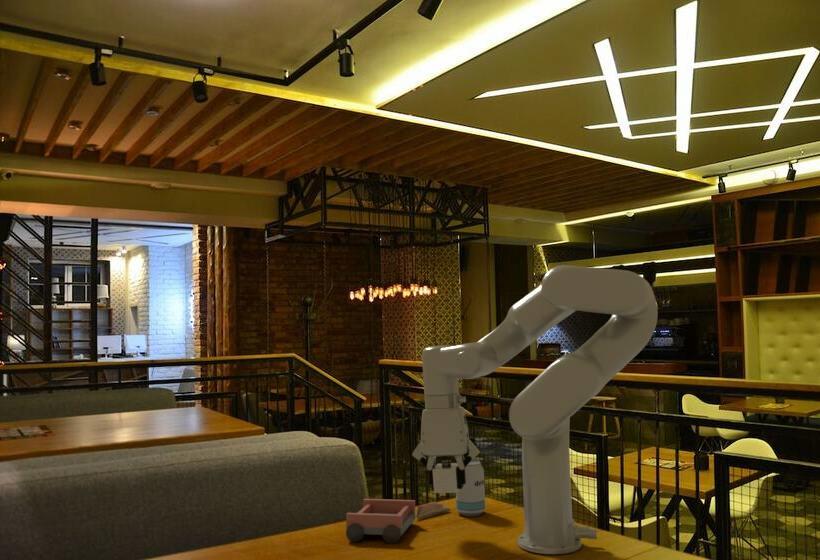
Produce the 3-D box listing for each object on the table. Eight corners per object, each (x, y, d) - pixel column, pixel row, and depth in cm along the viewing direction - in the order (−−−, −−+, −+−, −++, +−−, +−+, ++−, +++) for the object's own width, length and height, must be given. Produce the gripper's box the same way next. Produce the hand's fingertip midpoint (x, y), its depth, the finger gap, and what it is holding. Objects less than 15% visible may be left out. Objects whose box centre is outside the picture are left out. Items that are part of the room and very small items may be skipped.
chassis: (416, 523, 151) (415, 499, 152) (400, 544, 137) (399, 517, 137) (366, 521, 154) (365, 497, 155) (345, 541, 140) (344, 515, 140)
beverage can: (477, 519, 154) (475, 466, 155) (451, 515, 157) (449, 464, 158) (490, 511, 160) (488, 461, 161) (464, 508, 163) (462, 458, 164)
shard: (416, 523, 154) (416, 515, 154) (396, 516, 160) (396, 508, 160) (451, 514, 161) (451, 506, 161) (431, 507, 167) (431, 500, 167)
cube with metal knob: (461, 486, 146) (459, 458, 146) (457, 492, 140) (455, 463, 140) (439, 486, 147) (437, 458, 147) (434, 492, 141) (432, 464, 141)
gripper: (483, 399, 147) (489, 483, 145) (408, 402, 151) (413, 484, 149) (478, 402, 139) (485, 491, 138) (400, 406, 143) (405, 492, 142)
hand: (447, 486), depth 143 cm, fingers closed on cube with metal knob, 5 cm apart
